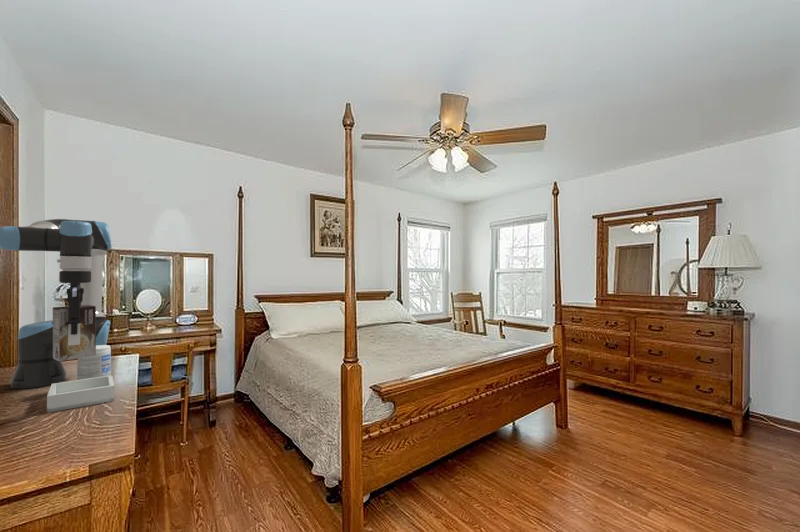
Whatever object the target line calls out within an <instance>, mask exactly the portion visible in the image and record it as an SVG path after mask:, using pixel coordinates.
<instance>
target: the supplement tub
mask: <svg viewBox="0 0 800 532" xmlns="http://www.w3.org/2000/svg"><path fill="white" fill-rule="evenodd" d="M111 366H112V348H111V345H109V344H106V345H96V355H95V356H89V357H83V358H77V367H76V369H77V370H76V371H77V374H76V378H77V380H81V379H88V378H95V377H102V376H109V375H111V373H112V372H111V370H112V369H111Z"/></svg>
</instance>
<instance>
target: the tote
mask: <svg viewBox="0 0 800 532" xmlns="http://www.w3.org/2000/svg"><path fill="white" fill-rule="evenodd" d="M113 376H114V375H113V374H112V375H109V376H102V377H95V378H88V379H81V380H69V381H61V382H58V383H54V384H51V385H50V387H49V389H48V392H47V395H46V414H48V413H54V412H60V411H64V410H70V409H71V410H73V409H76V408H81V407H86V406H87V407H88V406H94V405H98V404H105V403H110V402H114V401H115V382H114V377H113ZM104 402H105V403H104Z"/></svg>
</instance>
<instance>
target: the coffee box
mask: <svg viewBox="0 0 800 532" xmlns="http://www.w3.org/2000/svg"><path fill="white" fill-rule="evenodd" d="M52 320H53V359H55V360H57V361H61V362H64V361H70V360H71V361H72V360H75V359H77V358H83V357H89V356H95V355H96V306H91V305H81V306H80V345H70V346H68V324H65V322H68V320H69V305H68V306H58V307H57V306H56V307H55V306H54V307H52Z"/></svg>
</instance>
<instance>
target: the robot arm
mask: <svg viewBox="0 0 800 532" xmlns="http://www.w3.org/2000/svg"><path fill="white" fill-rule="evenodd" d="M112 248H113V247H112V242H111V234H110V228H109V224H108V223H106V222H104V221H96V220H83V219H82V220H80V219H66V218H53V219H52V218H51V219H45V220H39V221H35V222H33V223H31V224H30V225H27V226H15V225H12V226H11V225H7V226H6V225H4V226H1V227H0V249H1V250H4V251H14V252H18V251H19V252H20V251H22V252H23V251H24V252H59V259H56V262H57V263H59V269H60V271H58V272H59V275H58V276H59V279H58V280H59V281H58V282H59V283H60V284H69V285H70V287H69V288H67V289H66V295H67V303H68V306H69V320H68V322H65V324H68V346H70V345H80V306H81V305H91V306H96V345H107V343H108V337H109V333H110V328H111V327H110V326H111V320H108V319H107V316H106V315H105V313H103V312H102V310H103V309H102V308H103V305H102V303H103V302H102V301H103V261H104V260H103V257H104V256H106V255H107V254H108V250H112ZM17 343H18V345H17V346H18V347H17V348H18V349H17V354H18V355H17V367H16V368H15V371H14V373H13V375H12V377H11V380H10V388H11V389H17V390H19V389H22V390H23V389H31V388H32V389H34V388H40V387H45V385H46V386H51V385H50V384H54V383H57V382H58V383H61V382H64V381H65V380H66V379H67V371H66V370H65V367H64V364H63V361H57V360H55V359H53V319H52V320H44V321H38V322H32V323H29V324H26V325H23V326H21V327H20V328H19V329H18V337H17ZM63 380H64V381H63ZM60 381H61V382H60Z"/></svg>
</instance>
